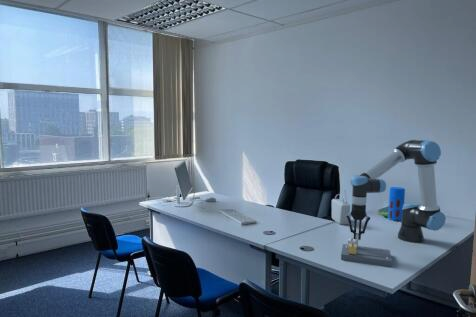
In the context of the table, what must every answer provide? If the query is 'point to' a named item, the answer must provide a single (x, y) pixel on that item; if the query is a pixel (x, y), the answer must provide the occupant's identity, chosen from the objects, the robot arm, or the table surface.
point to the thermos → (396, 203)
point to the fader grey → (351, 241)
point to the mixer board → (368, 255)
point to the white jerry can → (340, 210)
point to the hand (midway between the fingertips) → (356, 244)
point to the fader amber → (352, 249)
